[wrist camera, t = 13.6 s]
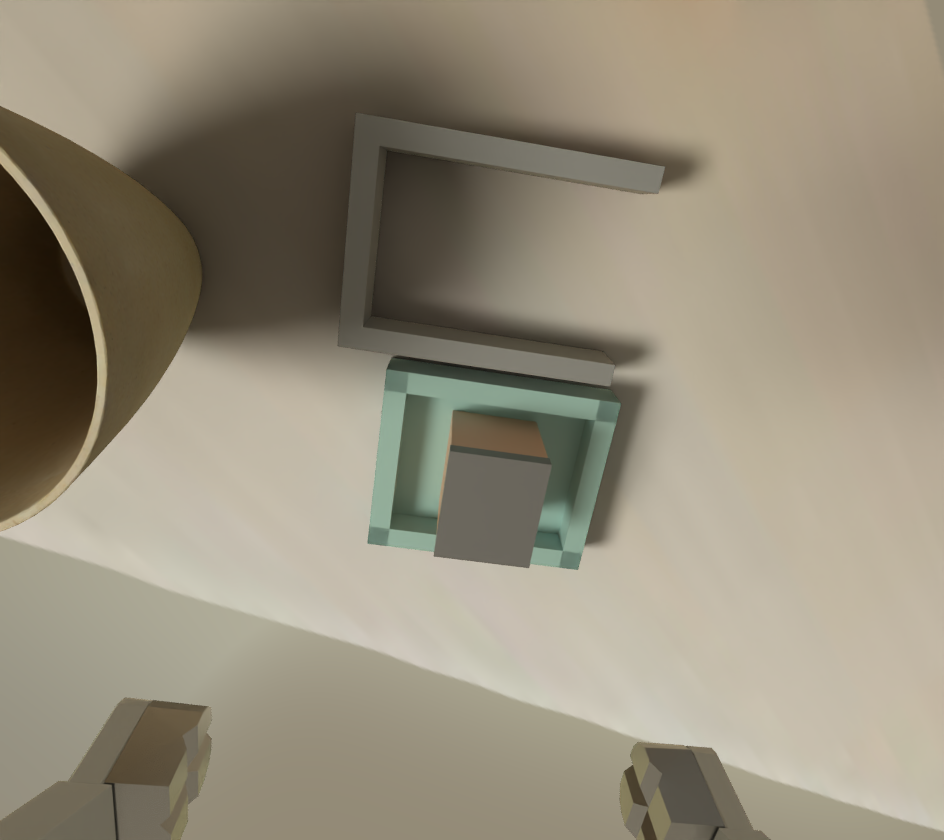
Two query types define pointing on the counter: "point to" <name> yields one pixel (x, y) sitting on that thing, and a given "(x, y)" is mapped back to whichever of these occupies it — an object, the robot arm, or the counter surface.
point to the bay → (480, 151)
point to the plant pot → (79, 308)
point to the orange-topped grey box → (491, 490)
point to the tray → (453, 388)
